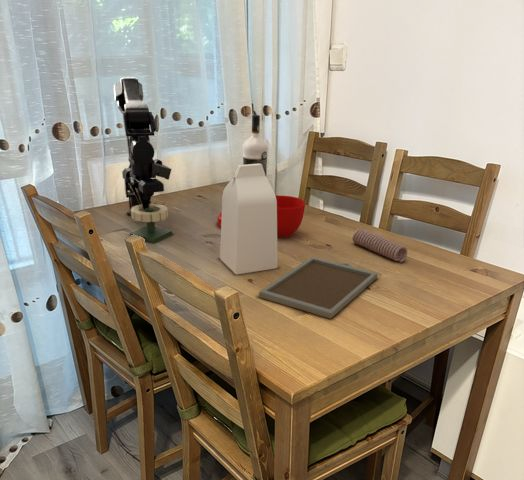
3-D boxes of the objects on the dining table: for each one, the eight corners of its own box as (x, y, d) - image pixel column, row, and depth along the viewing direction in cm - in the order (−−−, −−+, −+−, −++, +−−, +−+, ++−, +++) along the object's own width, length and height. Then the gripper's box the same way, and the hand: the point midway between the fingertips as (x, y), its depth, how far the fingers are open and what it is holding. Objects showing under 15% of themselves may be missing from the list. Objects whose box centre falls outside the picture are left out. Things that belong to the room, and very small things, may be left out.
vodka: (254, 201, 199) (256, 111, 183) (272, 208, 193) (276, 115, 178) (235, 206, 193) (235, 114, 177) (253, 213, 188) (255, 118, 172)
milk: (236, 274, 144) (236, 172, 130) (219, 258, 153) (219, 161, 139) (277, 268, 148) (282, 168, 135) (259, 253, 157) (262, 158, 144)
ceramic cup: (284, 221, 182) (286, 190, 176) (310, 238, 169) (313, 205, 164) (248, 225, 177) (249, 194, 171) (272, 243, 164) (273, 210, 159)
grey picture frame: (258, 291, 132) (316, 253, 154) (258, 297, 133) (316, 258, 155) (331, 313, 124) (381, 269, 146) (330, 319, 124) (380, 275, 146)
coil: (410, 246, 153) (364, 227, 166) (399, 247, 151) (353, 228, 163) (406, 262, 156) (360, 242, 168) (395, 263, 153) (350, 243, 165)
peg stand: (129, 237, 165) (127, 209, 160) (149, 228, 171) (147, 202, 167) (153, 243, 161) (151, 215, 157) (172, 234, 168) (171, 207, 163)
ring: (124, 217, 161) (123, 210, 160) (147, 208, 169) (146, 201, 168) (152, 224, 157) (151, 216, 156) (174, 215, 165) (174, 207, 164)
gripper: (179, 159, 154) (182, 214, 162) (155, 146, 168) (158, 197, 176) (141, 163, 149) (145, 219, 157) (119, 148, 163) (124, 201, 171)
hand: (144, 208), depth 166 cm, fingers closed on ring, 2 cm apart
